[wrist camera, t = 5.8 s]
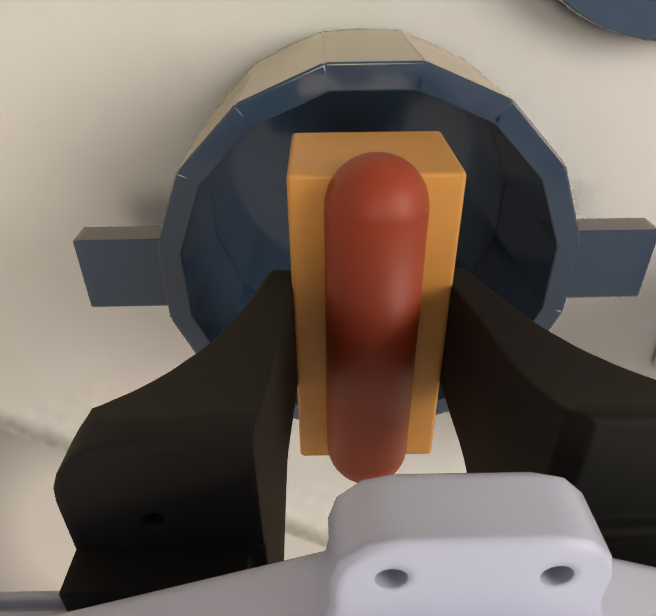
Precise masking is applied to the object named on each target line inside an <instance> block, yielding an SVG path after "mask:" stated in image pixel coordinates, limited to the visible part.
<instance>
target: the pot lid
mask: <svg viewBox="0 0 656 616" xmlns="http://www.w3.org/2000/svg"><path fill="white" fill-rule="evenodd" d="M559 1H560V2H561V3H562V4H564V5H565V6H566V7H567V8H568V9H569V10H571V11H572V12H574V13H575V14H577V15H579V16H580V17H582V18H584V19H585V20H587V21H589V22H590V23H592V24H594V25H597V26H599V27H602V28H604V29H607V30H609V31H612V32H615V33H617V34H621V35H625V36H630V37H634V38H639V39H643V40H653V41H656V0H559Z"/></svg>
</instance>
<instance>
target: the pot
mask: <svg viewBox="0 0 656 616" xmlns="http://www.w3.org/2000/svg"><path fill="white" fill-rule="evenodd" d="M403 131H439V132H441V134H442V136H443V137H444V139H445V140H446V142H447V144H448V145H449V147H450V148H451V150H452V151H453V153H454V155H455V156H456V158H457V159H458V161H459V163H460V164H461V166H462V167H463V169H464V171H465V172H466V183H465V191H464V199H463V207H462V214H461V222H460V230H459V237H458V245H457V253H456V260H455V267H463V268H465V269H466V270H468V271H469V272H470V273H471V274H473V275H474V276H475V277H476V278H478V279H479V280H480V281H481V282H482V283H484V284H485V285H486V286H487V287H489V288H490V289H491V290H492V291H493V292H495V293H496V294H497V295H498V296H500V297H501V298H502V299H503V300H505V301H506V302H507V303H509V304H510V305H511V306H513V307H514V308H515V309H517V310H518V311H519V312H521V313H522V314H523V315H525V316H526V317H528V318H529V319H531V320H532V321H534V322H535V323H537V324H538V325H540V326H541V327H543V328H544V329H546V330H549V329H550V328H551V326H552V325H553V324H554V322H555V321H556V320H557V318H558V317H559V316H560V314H561V313H562V310H563V307H564V303H565V300H566V298H576V297H631V296H637V295H638V294H639V291H640V288H641V285H642V282H643V279H644V276H645V273H646V270H647V267H648V264H649V261H650V259H651V256H652V253H653V250H654V247H655V244H656V227H655V226H654V225H653V224H651V223H650V222H649V221H648V220H647V219H645V218H609V219H576V214H575V209H574V204H573V199H572V194H571V189H570V184H569V179H568V174H567V169H566V166H565V163H564V162H563V161H562V160H561V158H560V157H559V156H558V155H557V153H556V152H555V151H554V150H553V149H552V147H551V146H550V145H549V144H548V142H547V141H546V140H545V139H544V137H543V136H542V135H541V134H540V133H539V131H538V130H537V129H536V128H535V126H534V125H533V124H532V123H531V121H530V120H529V119H528V118H527V117H526V115H525V114H524V113H523V112H522V110H521V109H520V108H519V107H518V105H517V104H516V103H515V102H514V101H513V100H512V99H511V98H510V97H509V96H507V95H506V94H505V93H504V92H503V91H501V90H500V89H499V88H498V87H497V86H495V85H494V84H493V83H492V82H491V81H489V80H488V79H487V78H486V77H485V76H483V75H482V74H481V73H480V72H479V71H477V70H476V69H475V68H474V67H473V66H471V65H470V64H469V63H468V62H466V61H465V60H464V59H462V58H459V57H457V56H455V55H453V54H451V53H448V52H446V51H444V50H442V49H440V48H438V47H436V46H435V45H433V44H431V43H429V42H426V41H423V40H420V39H418V38H415V37H413V36H411V35H409V34H406V33H404V32H402V31H398V30H375V29H350V30H339V31H324V32H323V33H322V32H320V33H318V34H316V35H314V36H311V37H309V38H306V39H304V40H301V41H299V42H296V43H294V44H291V45H289V46H287V47H285V48H283V49H282V50H280V51H278V52H276V53H275V54H273V55H271V56H269V57H268V58H266V59H264V60H262V61H260V62H258V63H256V64H255V65H254V66H252V68H251V69H250V70H249V71H248V72H247V74H246V75H245V76H244V77H243V78H242V79H241V81H240V82H239V83H238V84H237V85H236V86H235V87H234V88H233V89H232V91H231V92H230V93H229V95H228V96H227V97H226V99H225V100H224V101H223V102H222V103H221V104H220V106H219V107H218V108H217V109H216V110H215V112H214V113H213V114H212V115H211V116H210V118H209V120H208V121H207V123H206V124H205V126H204V128H203V129H202V131H201V133H200V134H199V136H198V138H197V139H196V141H195V143H194V144H193V146H192V148H191V149H190V151H189V153H188V154H187V156H186V157H185V159H184V161H183V162H182V164H181V166H180V167H179V169H178V171H177V173H176V175H175V179H174V183H173V186H172V190H171V194H170V198H169V202H168V206H167V209H166V213H165V217H164V221H163V225H162V226H130V227H84V228H83V229H82V230H81V232H80V233H79V234H78V235H77V237H76V238H75V239H74V240H73V243H74V247H75V250H76V254H77V257H78V260H79V264H80V267H81V271H82V274H83V278H84V281H85V285H86V288H87V291H88V295H89V298H90V302H91V305H92V307H106V306H161V305H168V307H169V312H170V317H171V318H172V320H173V322H174V323H175V325H176V326H177V327H178V329H179V330H180V332H181V333H182V335H183V336H184V337H185V339H186V340H187V342H188V343H189V344H190V346H191V347H192V349H193V350H194V351H195V353H196V354H197V353H198V352H199V351H201V350H202V349H203V348H204V347H205V346H207V345H208V344H209V343H210V342H211V341H212V340H214V339H215V338H216V337H217V336H218V335H219V334H220V333H221V332H222V331H223V330H224V329H225V328H226V327H227V326H228V324H229V323H230V322H231V321H232V320H233V319H234V318H235V317H236V316H237V315H238V314H239V312H240V311H241V310H242V309H243V308H244V306H245V305H246V304H247V303H248V301H249V300H250V299H251V298H252V296H253V295H254V294H255V292H256V291H257V290H258V288H259V287H260V285H261V284H262V282H263V281H264V279H265V278H266V276H267V275H268V274H269V273H270V272H271V271H272V270H291V259H290V240H289V221H288V202H287V183H286V176H287V169H288V162H289V154H290V147H291V140H292V135H293V134H295V133H331V132H403ZM447 411H449V409H448V406H447V403H446V400H445V397H444V394H443V391H442V388H441V385H440V384H439V392H438V399H437V407H436V415H437V414H441V413H444V412H447ZM293 418H295V419H298V420H299V411H298V392H297V394H296V401H295V408H294V414H293Z"/></svg>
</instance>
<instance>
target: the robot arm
mask: <svg viewBox="0 0 656 616" xmlns="http://www.w3.org/2000/svg"><path fill="white" fill-rule="evenodd" d="M653 364H654V367H655V368H656V357H655V359H654V363H653ZM440 385H441V388H442V391H443V394H444V397H445V400H446V403H447V406H448V409H449V412H450V415H451V418H452V421H453V424H454V427H455V430H456V433H457V436H458V439H459V442H460V446H461V449H462V453H463V457H464V461H465V466H466V470H467V473H444V474H391V475H386V476H381V477H376V478H371V479H365V480H362V481H360V482H359V483H357V484H356V485H354V486H353V487H351V488H350V489H348V490H347V491H345V492H344V493H342V494H341V495H339V496H338V497H336V500H335V502H334V505H333V507H332V510H331V512H330V515H329V517H328V526H329V540H328V545H327V548H326V550H325V551H323V552H318V553H315V554H310V555H306V556H301V557H297V558H293V559H289V560H285V561H284V539H285V538H284V537H285V509H286V482H287V460H288V450H289V442H290V435H291V428H292V421H293V414H294V408H295V401H296V394H297V387H298V375H297V355H296V336H295V317H294V297H293V287H292V278H291V270H272V271H271V272H270V273H269V274H268V275H267V276H266V278H265V279H264V281H263V282H262V284H261V285H260V287H259V288H258V290H257V291H256V292H255V294H254V295H253V296H252V298H251V299H250V300H249V301H248V303H247V304H246V305H245V306H244V308H243V309H242V310H241V311H240V312H239V314H238V315H237V316H236V317H235V318H234V319H233V320H232V321H231V322H230V323H229V324H228V326H227V327H226V328H225V329H224V330H223V331H222V332H221V333H220V334H219V335H218V336H217V337H216V338H215V339H214V340H212V341H211V342H210V343H209V344H208V345H207V346H205V347H204V348H203V349H202V350H201V351H199V352H198V353H197V354H195V355H194V356H192V357H191V358H189V359H188V360H186V361H185V362H183V363H182V364H181V365H179V366H178V367H176V368H175V369H173V370H172V371H170V372H168V373H167V374H165V375H163V376H162V377H160V378H158V379H156V380H155V381H153V382H151V383H149V384H147V385H145V386H143V387H141V388H139V389H137V390H135V391H133V392H131V393H129V394H126V395H124V396H122V397H119V398H117V399H115V400H112V401H110V402H108V403H105V404H103V405H100V406H98V407H95V408H92V410H91V411H90V413H89V415H88V416H87V418H86V419H85V421H84V422H83V424H82V425H81V427H80V428H79V430H78V432H77V434H76V436H75V437H74V439H73V441H72V443H71V445H70V447H69V449H68V451H67V453H66V455H65V457H64V460H63V462H62V464H61V466H60V468H59V470H58V472H57V474H56V478H55V483H54V493H55V497H56V502H57V504H58V507H59V509H60V512H61V514H62V516H63V518H64V521H65V523H66V526H67V528H68V530H69V533H70V535H71V537H72V540H73V542H74V545H75V547H76V549H77V550H76V552H75V555H74V557H73V560H72V562H71V565H70V567H69V570H68V572H67V575H66V577H65V580H64V583H63V585H62V587H61V590H60V591H26V592H0V616H656V380H655V379H652V378H649V377H646V376H643V375H641V374H638V373H635V372H632V371H630V370H627V369H625V368H622V367H620V366H617V365H615V364H612V363H610V362H608V361H606V360H603V359H601V358H599V357H597V356H594V355H592V354H590V353H588V352H586V351H584V350H582V349H580V348H578V347H576V346H574V345H572V344H570V343H569V342H567V341H565V340H563V339H561V338H560V337H558V336H556V335H554V334H552V333H551V332H549V331H548V330H546V329H544V328H543V327H541V326H540V325H538V324H537V323H535V322H534V321H532V320H531V319H529V318H528V317H526V316H525V315H523V314H522V313H521V312H519V311H518V310H517V309H515V308H514V307H513V306H511V305H510V304H509V303H507V302H506V301H505V300H503V299H502V298H501V297H500V296H498V295H497V294H496V293H495V292H493V291H492V290H491V289H490V288H489V287H487V286H486V285H485V284H484V283H482V282H481V281H480V280H479V279H478V278H476V277H475V276H474V275H473V274H471V273H470V272H469V271H468V270H466V269H465V268H463V267H455V268H454V276H453V284H452V288H451V296H450V304H449V312H448V319H447V327H446V335H445V343H444V350H443V358H442V366H441V374H440Z"/></svg>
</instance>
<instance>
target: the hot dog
mask: <svg viewBox="0 0 656 616" xmlns="http://www.w3.org/2000/svg"><path fill="white" fill-rule="evenodd" d="M286 183H287V202H288V221H289V240H290V259H291V278H292V287H293V297H294V317H295V336H296V355H297V375H298V387H297V392H298V411H299V430H300V450H301V454H302V455H304V456H311V455H329V456H330V458H331V460H332V462H333V465H334V466H335V467H336V469H337V470H338V471H339V472H340V473H341V474H342V475H343V476H344V477H346V478H348V479H349V480H352V481H354V482H357V483H359V482H360V481H362V480H365V479H371V478H376V477H381V476H386V475H391V474H394V473H395V472H396V471H397V470H398V469H399V467H400V466H401V464H402V462H403V460H404V457H405V454H426V453H430V451H431V446H432V438H433V430H434V422H435V415H436V407H437V399H438V392H439V384H440V374H441V366H442V358H443V350H444V343H445V335H446V327H447V319H448V312H449V304H450V296H451V288H452V284H453V276H454V268H455V260H456V253H457V245H458V237H459V230H460V222H461V214H462V207H463V199H464V191H465V183H466V172H465V171H464V169H463V167H462V166H461V164H460V163H459V161H458V159H457V158H456V156H455V155H454V153H453V151H452V150H451V148H450V147H449V145H448V144H447V142H446V140H445V139H444V137H443V136H442V134H441V132H439V131H403V132H331V133H295V134H293V135H292V140H291V147H290V154H289V162H288V169H287V176H286Z"/></svg>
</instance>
